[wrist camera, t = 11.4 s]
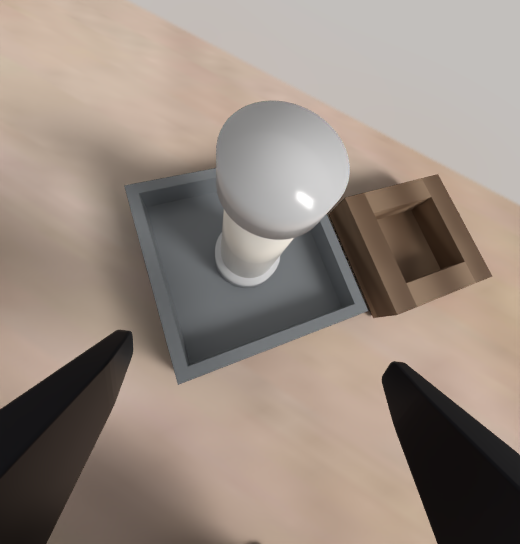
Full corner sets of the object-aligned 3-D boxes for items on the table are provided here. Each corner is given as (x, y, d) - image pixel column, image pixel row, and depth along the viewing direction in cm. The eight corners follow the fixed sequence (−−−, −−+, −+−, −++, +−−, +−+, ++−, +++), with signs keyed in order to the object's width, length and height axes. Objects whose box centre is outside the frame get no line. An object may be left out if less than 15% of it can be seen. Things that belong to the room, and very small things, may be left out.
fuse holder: (373, 317, 22) (397, 314, 19) (329, 214, 24) (344, 197, 21) (459, 283, 24) (492, 276, 21) (413, 192, 26) (437, 174, 23)
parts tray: (183, 377, 18) (178, 384, 16) (135, 205, 21) (124, 185, 18) (349, 314, 22) (368, 310, 19) (290, 172, 24) (300, 151, 21)
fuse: (243, 301, 20) (285, 247, 8) (202, 255, 20) (185, 142, 8) (286, 261, 21) (374, 169, 9) (247, 219, 21) (285, 81, 10)
